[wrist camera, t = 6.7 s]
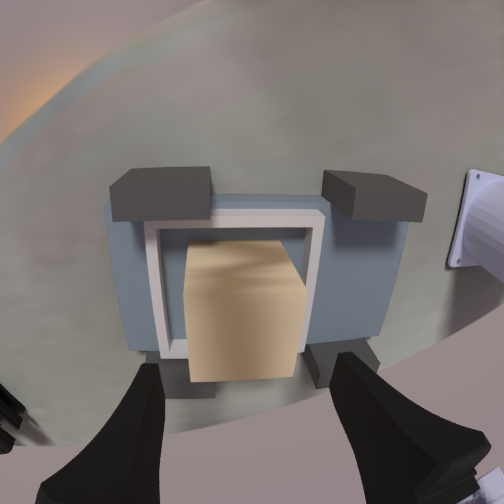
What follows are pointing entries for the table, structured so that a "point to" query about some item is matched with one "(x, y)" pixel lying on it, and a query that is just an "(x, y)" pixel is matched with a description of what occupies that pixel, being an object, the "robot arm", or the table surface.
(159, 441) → the robot arm
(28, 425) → the table surface
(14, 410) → the end cap
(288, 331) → the block
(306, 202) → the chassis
